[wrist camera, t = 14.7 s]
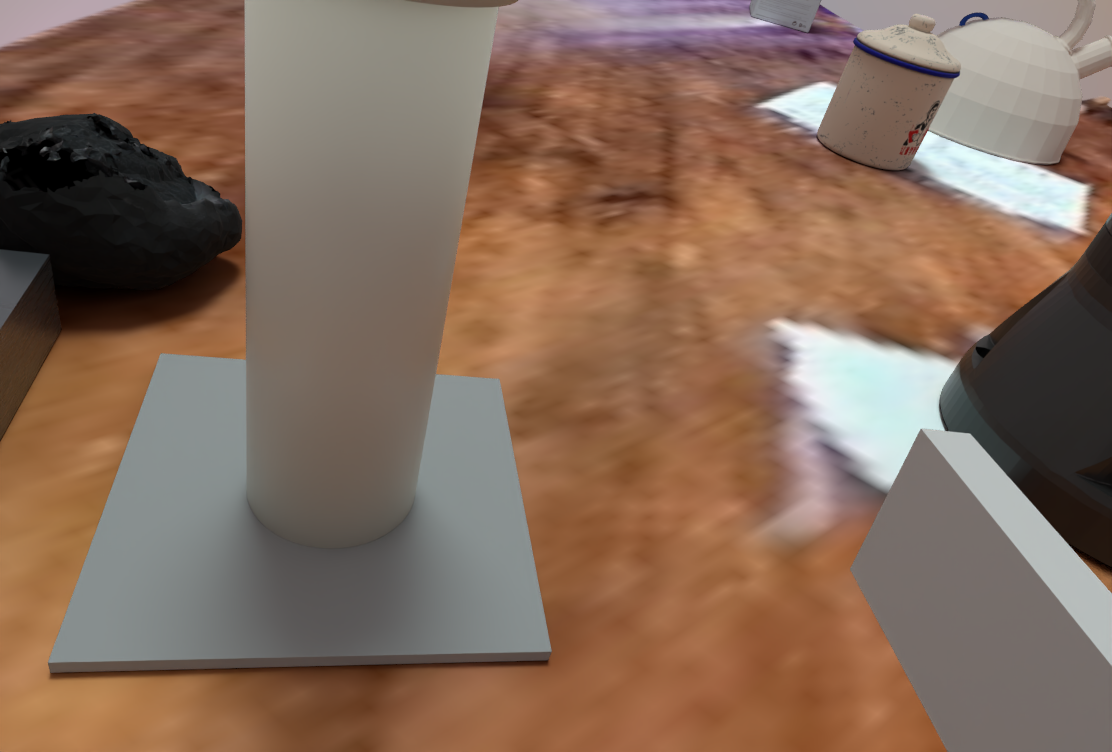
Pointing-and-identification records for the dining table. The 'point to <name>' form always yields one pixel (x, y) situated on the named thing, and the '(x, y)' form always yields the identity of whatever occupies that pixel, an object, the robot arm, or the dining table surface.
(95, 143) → the rock
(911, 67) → the teacup with lid
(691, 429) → the dining table surface
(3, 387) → the housing
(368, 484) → the cream upright pillar
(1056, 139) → the kettle
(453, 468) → the mat
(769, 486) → the dining table surface
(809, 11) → the supplement box
